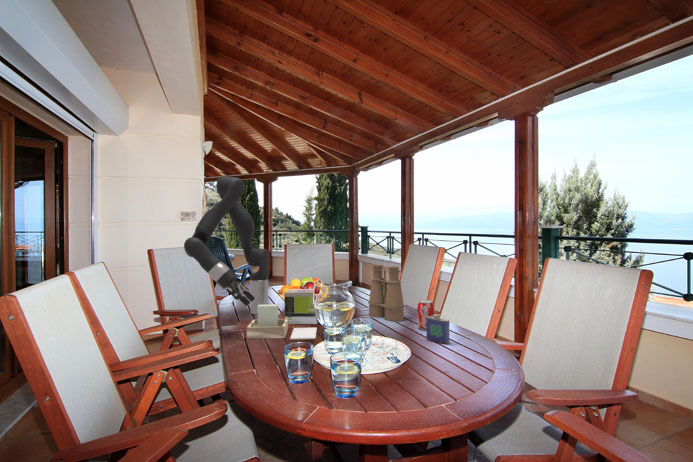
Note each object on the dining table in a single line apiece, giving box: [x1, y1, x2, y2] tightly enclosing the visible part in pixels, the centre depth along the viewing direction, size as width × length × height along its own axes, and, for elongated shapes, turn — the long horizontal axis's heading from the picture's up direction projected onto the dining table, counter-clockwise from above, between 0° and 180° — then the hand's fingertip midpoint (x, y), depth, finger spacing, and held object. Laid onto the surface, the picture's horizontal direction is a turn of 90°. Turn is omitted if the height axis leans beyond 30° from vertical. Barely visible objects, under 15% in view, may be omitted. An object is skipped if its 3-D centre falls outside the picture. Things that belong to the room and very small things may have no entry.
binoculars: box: [367, 264, 405, 323], centre depth 174 cm, size 21×10×25 cm, turn 41°
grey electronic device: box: [284, 288, 319, 325], centre depth 167 cm, size 15×10×15 cm
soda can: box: [416, 299, 435, 332], centre depth 154 cm, size 7×7×12 cm
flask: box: [425, 313, 451, 345], centre depth 137 cm, size 9×3×11 cm, turn 50°
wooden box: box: [246, 318, 289, 340], centre depth 149 cm, size 12×15×4 cm
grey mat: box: [289, 327, 318, 340], centre depth 148 cm, size 14×10×1 cm
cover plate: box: [257, 304, 279, 327], centre depth 149 cm, size 3×8×12 cm, turn 93°
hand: (251, 302), depth 148 cm, fingers open, 8 cm apart
